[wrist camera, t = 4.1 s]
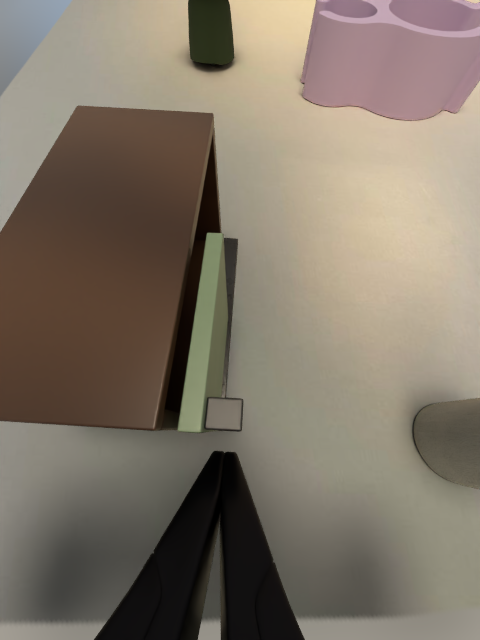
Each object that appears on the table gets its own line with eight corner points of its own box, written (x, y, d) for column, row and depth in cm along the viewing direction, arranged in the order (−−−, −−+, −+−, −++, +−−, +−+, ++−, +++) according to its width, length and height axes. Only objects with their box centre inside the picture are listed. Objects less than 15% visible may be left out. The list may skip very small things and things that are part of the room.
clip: (304, 114, 30) (322, 30, 24) (299, 65, 35) (313, -15, 29) (465, 123, 30) (528, 41, 24) (437, 73, 35) (482, -5, 29)
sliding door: (238, 431, 15) (242, 436, 7) (206, 429, 15) (176, 431, 7) (244, 317, 18) (251, 234, 10) (218, 316, 18) (206, 232, 10)
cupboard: (223, 430, 15) (207, 434, 6) (87, 422, 15) (-112, 413, 6) (237, 242, 21) (240, 114, 13) (141, 236, 21) (77, 104, 13)
